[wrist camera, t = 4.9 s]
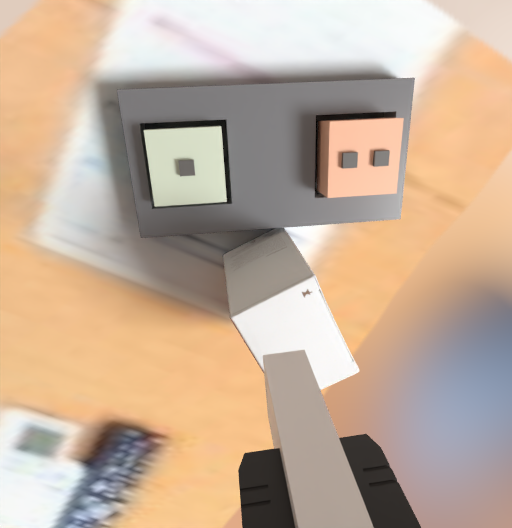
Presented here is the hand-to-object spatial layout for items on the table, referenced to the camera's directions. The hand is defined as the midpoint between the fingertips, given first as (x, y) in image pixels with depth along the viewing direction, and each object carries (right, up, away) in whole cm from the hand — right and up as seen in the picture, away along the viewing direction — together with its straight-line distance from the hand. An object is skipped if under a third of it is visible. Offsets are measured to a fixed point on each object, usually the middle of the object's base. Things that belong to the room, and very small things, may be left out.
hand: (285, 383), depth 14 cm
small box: (0, +3, +19) cm, 19 cm away
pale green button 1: (-6, +12, +16) cm, 21 cm away
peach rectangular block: (+6, +13, +16) cm, 21 cm away
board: (0, +12, +15) cm, 20 cm away
